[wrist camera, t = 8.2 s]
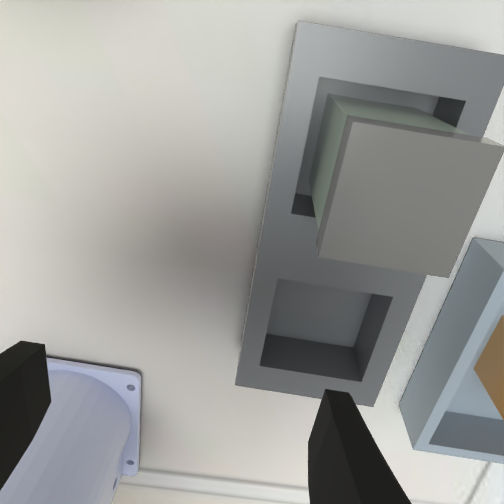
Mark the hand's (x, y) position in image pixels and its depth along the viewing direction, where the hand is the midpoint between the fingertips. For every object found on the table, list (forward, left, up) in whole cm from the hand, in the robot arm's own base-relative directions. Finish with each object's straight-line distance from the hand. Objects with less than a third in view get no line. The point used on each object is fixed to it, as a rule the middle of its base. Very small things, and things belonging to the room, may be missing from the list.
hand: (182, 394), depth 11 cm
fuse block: (+1, -5, -10) cm, 12 cm away
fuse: (+5, -5, -10) cm, 12 cm away
